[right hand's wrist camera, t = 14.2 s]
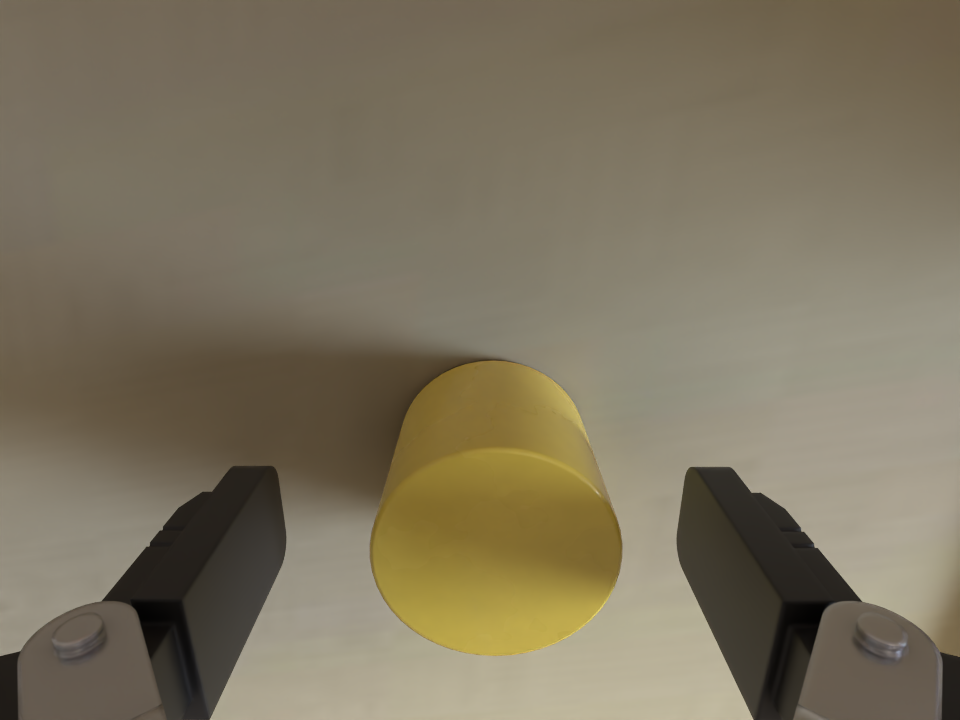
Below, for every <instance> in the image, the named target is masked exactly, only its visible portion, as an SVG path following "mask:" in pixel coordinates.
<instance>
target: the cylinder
mask: <svg viewBox="0 0 960 720" xmlns="http://www.w3.org/2000/svg"><path fill="white" fill-rule="evenodd" d="M621 561H622V538H621V531H620V527H619V524H618V521H617V518H616V515H615V512H614V509H613V506H612V504H611V501H610V498H609V495H608V493H607V490H606V487H605V484H604V481H603V479H602V476H601V473H600V470H599V468H598V465H597V462H596V459H595V457H594V454H593V451H592V448H591V445H590V443H589V440H588V437H587V434H586V432H585V429H584V426H583V423H582V420H581V418H580V415H579V413H578V411H577V409H576V407H575V405H574V403H573V402H572V400H571V399H570V397H569V396H568V395H567V393H566V392H565V391H564V390H563V389H562V388H561V387H560V386H559V385H558V384H557V383H555V382H554V381H553V380H552V379H550V378H549V377H547V376H546V375H544V374H542V373H541V372H539V371H537V370H534V369H532V368H530V367H527V366H524V365H521V364H518V363H512V362H507V361H493V360H492V361H479V362H473V363H468V364H465V365H462V366H459V367H456V368H453V369H451V370H449V371H447V372H445V373H443V374H441V375H440V376H438V377H437V378H435V379H434V380H432V381H431V382H430V383H429V384H428V385H427V386H425V387H424V388H423V389H422V391H421V392H420V393H419V394H418V395H417V396H416V398H415V399H414V401H413V402H412V404H411V405H410V407H409V409H408V411H407V413H406V415H405V418H404V422H403V425H402V428H401V431H400V435H399V438H398V442H397V445H396V449H395V452H394V456H393V459H392V463H391V466H390V470H389V473H388V477H387V480H386V483H385V487H384V490H383V494H382V497H381V501H380V504H379V508H378V511H377V515H376V518H375V522H374V525H373V528H372V533H371V540H370V562H371V568H372V573H373V576H374V579H375V582H376V585H377V587H378V589H379V591H380V593H381V595H382V597H383V599H384V600H385V602H386V603H387V605H388V606H389V608H390V609H391V610H392V611H393V612H394V614H395V615H396V616H397V617H398V618H399V619H400V620H401V621H402V622H403V623H405V624H406V625H407V626H408V627H409V628H411V629H412V630H413V631H415V632H416V633H418V634H419V635H421V636H422V637H424V638H426V639H428V640H430V641H432V642H434V643H436V644H438V645H441V646H444V647H446V648H449V649H452V650H456V651H460V652H464V653H470V654H476V655H488V656H503V655H515V654H521V653H527V652H531V651H535V650H539V649H542V648H545V647H547V646H550V645H553V644H555V643H557V642H559V641H561V640H563V639H565V638H567V637H569V636H570V635H572V634H573V633H575V632H576V631H578V630H579V629H581V628H582V627H583V626H584V625H585V624H587V623H588V622H589V621H590V620H591V619H592V618H593V617H594V616H595V615H596V614H597V613H598V612H599V611H600V610H601V608H602V607H603V605H604V604H605V603H606V601H607V600H608V598H609V596H610V594H611V593H612V591H613V589H614V587H615V584H616V581H617V578H618V575H619V572H620V567H621Z"/></svg>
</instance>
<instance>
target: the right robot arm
mask: <svg viewBox="0 0 960 720" xmlns="http://www.w3.org/2000/svg"><path fill="white" fill-rule="evenodd" d="M285 550H286V529H285V522H284V515H283V508H282V500H281V493H280V486H279V479H278V474H277V471H276V469H275V468H274V467H273V466H233V467H231V468H230V469H229V471H228V472H227V473H226V474H225V476H224V477H223V478H222V480H221V481H220V482H219V484H218V485H217V486H216V487H215V489H214V490H213V491H212V492H202V493H200V494H199V495H197V496H196V497H194V498H193V499H191V500H190V501H188V502H187V503H185V504H184V505H182V506H181V507H179V508H178V509H177V510H176V512H175V513H174V514H173V515H172V516H171V518H170V519H169V520H168V521H167V523H166V524H165V525H164V526H163V530H162V531H159V532H158V533H157V535H156V536H155V537H154V538H153V540H152V541H151V542H150V546H149V547H146V548H145V549H144V550H143V552H142V553H141V554H140V555H139V557H138V558H137V559H136V560H135V561H134V563H133V564H132V565H131V566H130V567H129V569H128V570H127V571H126V572H125V574H124V575H123V576H122V577H121V578H120V580H119V581H118V582H117V583H116V584H115V586H114V587H113V588H112V589H111V591H110V592H109V593H108V594H107V595H106V597H105V598H104V599H103V600H102V601H101V602H95V603H91V604H87V605H84V606H81V607H78V608H75V609H73V610H70V611H68V612H66V613H64V614H62V615H60V616H58V617H56V618H55V619H53V620H52V621H50V622H48V623H47V624H46V625H44V626H43V627H42V628H40V629H39V630H38V631H37V632H36V633H35V634H34V635H33V636H32V637H31V638H30V639H29V640H28V641H27V642H26V644H25V645H24V647H23V648H22V650H21V651H20V652H16V653H12V654H7V655H3V656H0V720H210V718H211V716H212V713H213V711H214V709H215V707H216V705H217V703H218V701H219V698H220V696H221V694H222V692H223V690H224V688H225V686H226V684H227V681H228V679H229V677H230V675H231V673H232V671H233V669H234V666H235V664H236V662H237V660H238V658H239V656H240V654H241V651H242V649H243V647H244V645H245V643H246V641H247V639H248V637H249V634H250V632H251V630H252V628H253V626H254V624H255V622H256V619H257V617H258V615H259V613H260V611H261V609H262V607H263V605H264V602H265V600H266V598H267V596H268V594H269V592H270V590H271V587H272V585H273V583H274V581H275V579H276V577H277V575H278V572H279V570H280V568H281V566H282V563H283V560H284V556H285ZM677 551H678V557H679V561H680V564H681V567H682V569H683V571H684V574H685V576H686V578H687V580H688V582H689V584H690V586H691V588H692V590H693V593H694V595H695V597H696V599H697V601H698V603H699V605H700V607H701V609H702V612H703V614H704V616H705V618H706V620H707V622H708V624H709V626H710V628H711V631H712V633H713V635H714V637H715V639H716V641H717V643H718V645H719V647H720V650H721V652H722V654H723V656H724V658H725V660H726V662H727V664H728V666H729V669H730V671H731V673H732V675H733V677H734V679H735V681H736V683H737V685H738V688H739V690H740V692H741V694H742V696H743V698H744V700H745V702H746V704H747V706H748V709H749V711H750V713H751V715H752V717H753V719H754V720H960V657H957V656H953V655H948V654H945V653H941V652H939V650H938V648H937V647H936V645H935V644H934V642H933V641H932V640H931V639H930V638H929V637H928V636H927V635H926V634H925V633H924V632H923V631H922V630H921V629H920V628H918V627H917V626H916V625H914V624H913V623H912V622H910V621H908V620H907V619H905V618H904V617H902V616H900V615H898V614H896V613H894V612H892V611H890V610H887V609H885V608H882V607H879V606H876V605H873V604H869V603H865V602H862V601H861V600H860V599H859V597H858V596H857V595H856V594H855V592H854V591H853V590H852V589H851V588H850V586H849V585H848V584H847V583H846V582H845V580H844V579H843V578H842V577H841V576H840V574H839V573H838V572H837V571H836V570H835V568H834V567H833V566H832V565H831V564H830V562H829V561H828V560H827V559H826V558H825V556H824V555H823V554H822V553H821V552H820V550H819V549H818V548H815V547H814V543H813V542H812V541H811V540H810V538H809V537H808V536H807V535H806V534H805V532H801V528H800V526H799V525H798V524H797V523H796V522H795V520H794V519H793V518H792V517H791V516H790V514H789V513H788V512H787V511H786V510H785V509H784V508H783V507H781V506H780V505H778V504H777V503H775V502H774V501H772V500H771V499H769V498H768V497H766V496H765V495H763V494H762V493H751V492H750V490H749V489H748V488H747V486H746V485H745V484H744V483H743V481H742V480H741V479H740V477H739V476H738V475H737V474H736V472H735V471H734V470H733V469H732V468H730V467H690V468H689V469H688V470H687V472H686V476H685V481H684V488H683V495H682V502H681V509H680V516H679V523H678V530H677Z"/></svg>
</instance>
